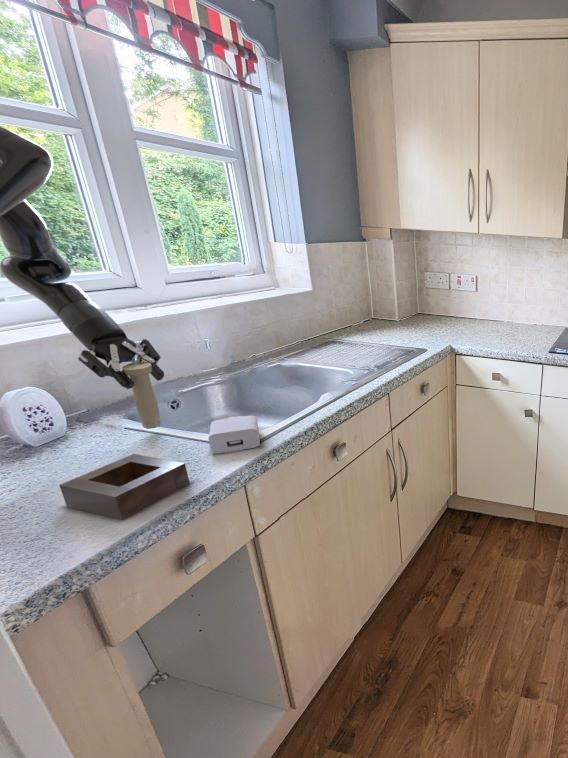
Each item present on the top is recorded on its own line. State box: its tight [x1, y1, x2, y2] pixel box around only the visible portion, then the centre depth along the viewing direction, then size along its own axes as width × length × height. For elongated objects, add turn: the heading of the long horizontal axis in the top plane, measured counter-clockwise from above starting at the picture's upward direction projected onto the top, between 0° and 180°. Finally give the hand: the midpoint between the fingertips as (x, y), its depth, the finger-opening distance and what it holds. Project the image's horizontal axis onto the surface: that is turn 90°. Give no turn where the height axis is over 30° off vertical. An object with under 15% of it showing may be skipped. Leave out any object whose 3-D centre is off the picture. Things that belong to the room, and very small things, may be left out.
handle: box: [121, 361, 162, 430], centre depth 105 cm, size 5×6×15 cm
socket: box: [58, 453, 191, 521], centre depth 83 cm, size 12×12×4 cm
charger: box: [207, 415, 261, 454], centre depth 107 cm, size 5×9×15 cm
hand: (146, 382), depth 103 cm, fingers closed on handle, 6 cm apart
